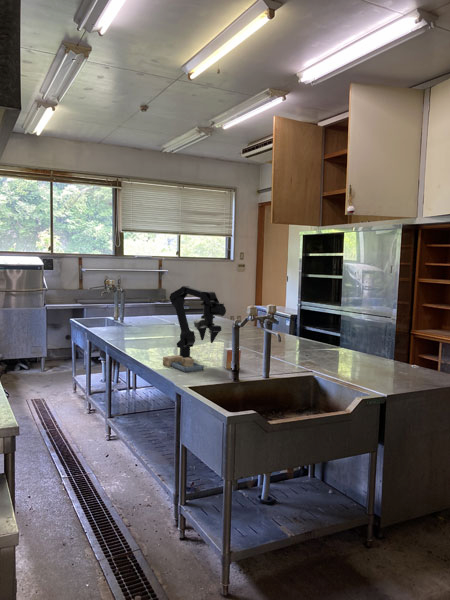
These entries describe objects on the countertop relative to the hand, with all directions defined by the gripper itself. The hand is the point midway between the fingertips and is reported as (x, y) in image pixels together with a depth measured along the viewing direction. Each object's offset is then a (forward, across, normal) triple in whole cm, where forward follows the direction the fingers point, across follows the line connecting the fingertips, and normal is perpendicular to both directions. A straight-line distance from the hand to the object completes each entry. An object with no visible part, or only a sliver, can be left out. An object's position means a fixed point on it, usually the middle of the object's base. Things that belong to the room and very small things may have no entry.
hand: (206, 341), depth 263 cm
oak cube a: (+11, +7, -17) cm, 22 cm away
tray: (+12, +7, -17) cm, 22 cm away
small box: (+12, +16, +6) cm, 21 cm away
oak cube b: (+12, -3, -17) cm, 21 cm away
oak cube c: (+12, -3, -22) cm, 26 cm away
